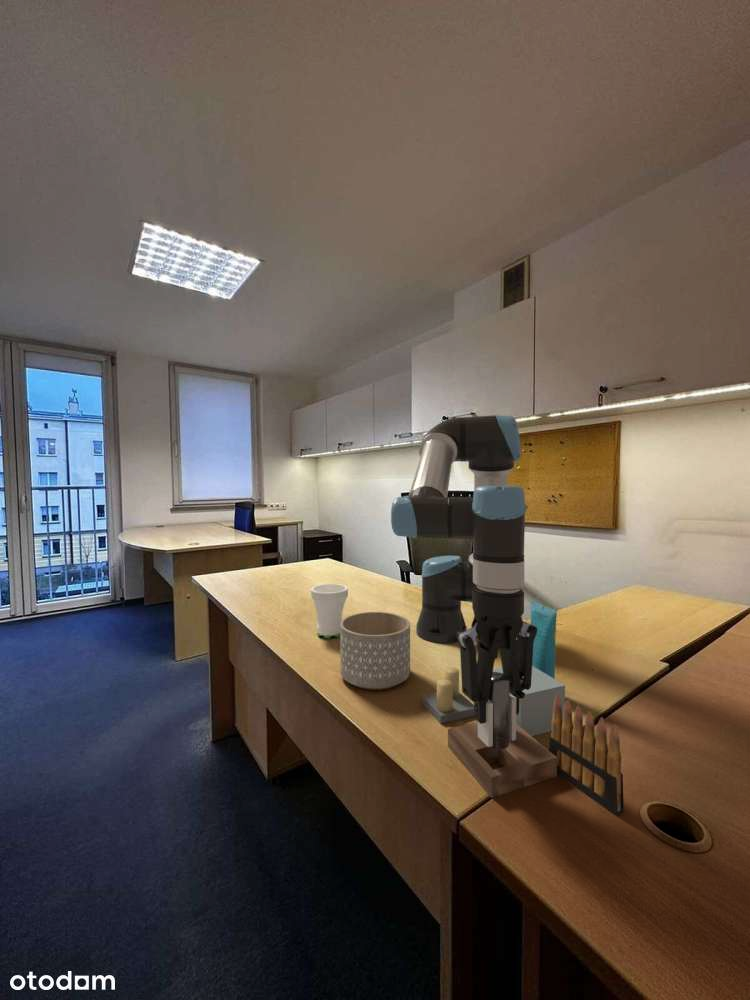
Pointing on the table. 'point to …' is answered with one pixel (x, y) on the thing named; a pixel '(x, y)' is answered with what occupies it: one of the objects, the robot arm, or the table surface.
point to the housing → (538, 703)
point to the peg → (500, 709)
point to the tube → (544, 638)
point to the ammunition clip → (588, 756)
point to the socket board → (502, 760)
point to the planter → (375, 650)
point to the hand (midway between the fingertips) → (496, 737)
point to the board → (456, 704)
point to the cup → (329, 607)
